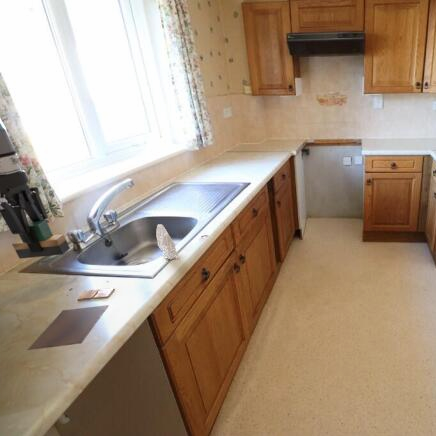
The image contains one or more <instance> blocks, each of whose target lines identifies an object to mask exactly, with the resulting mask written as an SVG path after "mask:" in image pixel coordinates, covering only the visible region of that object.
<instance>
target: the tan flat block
mask: <svg viewBox="0 0 436 436" xmlns="http://www.w3.org/2000/svg"><path fill="white" fill-rule="evenodd" d="M99 290H100V288H98V289H97V288H96V289H89V290H84V291H83V292H82V294H80V296H79V297H78V298H77V301H78V302H79V301H87V300H94V299H93V297H94V296H95V295H96V294H97V293H98V291H99Z"/></svg>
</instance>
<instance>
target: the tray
mask: <svg viewBox="0 0 436 436" xmlns="http://www.w3.org/2000/svg"><path fill="white" fill-rule="evenodd" d="M109 306H110V305H109V304H106V305H105V304H104V305H96V306H89V307H80V308H70V309H63V310H62V311H61V312H60V313H59V314H58V315H57V316H56V317H55V318H54V320H53V321H51V323H50V324H49V325H48V326H47V327H46V328H45V330H44V331H43V332H42V333H41V334H40V335H39V336H38V337H37V338H36V340H34V341H33V342H32V344H31V345H30V346H29V347H28V348H27V349H26V350H27V351H31V350H39V349H46V348H54V347H63V346H71V345H77V344H78V345H79V344H83V342H84V340H85V339H86V338H87V336H88V335H89V334H90V333H91V331H92V329H93V328H94V327H95V326H96V324H97V322H99V320H100V318H101V317H102V316H103V315H104V313H105V312H106V310H107V309H108V308H109Z"/></svg>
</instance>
